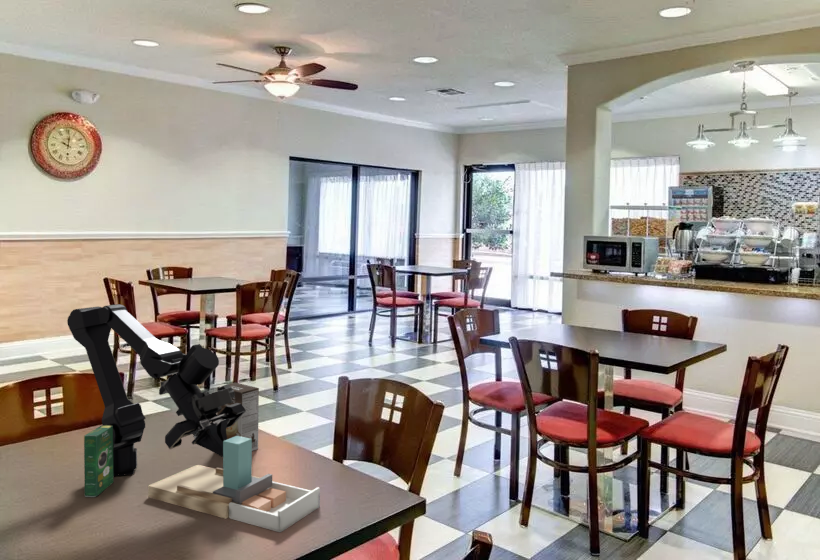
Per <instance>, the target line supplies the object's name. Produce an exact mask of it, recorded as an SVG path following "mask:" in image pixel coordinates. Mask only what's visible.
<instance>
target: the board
mask: <svg viewBox="0 0 820 560" xmlns="http://www.w3.org/2000/svg"><path fill="white" fill-rule="evenodd" d="M252 477H256V478H261V477H260V476H255V475H252ZM221 487H223V468H222V467H216V468H214V467H208V466H204V465H201V464H195V465H193V466H191V467H189V468H186V469H183V470H182V471H179V472H177V473H175V474H172V475H170V476H167V477H164V478H163V479H161V480H158V481H156V482H153V483H151V484H149V485H148V487H147V489H148V491H147V495H148V498H150V499H153V500H157V501H160V502H165V503H168V504H172V505H175V506H179V507H182V508H185V509H190V510H192V511H196V512H200V513H203V514H207V515H211V516H214V517H218V518H220V519H225V520H226V519H229V503H231V502H232V498H229V497H225V496H221V495H217V494H213V491H215V490H217V489H219V488H221ZM232 503H236V502H232ZM236 504H238V503H236Z"/></svg>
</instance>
